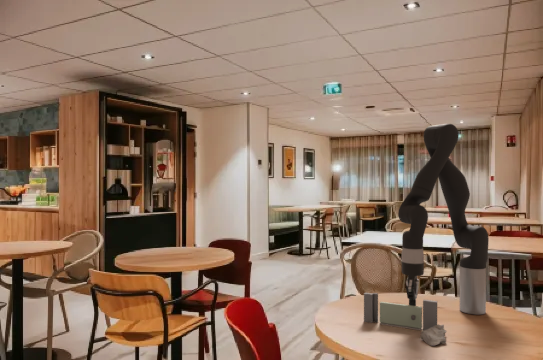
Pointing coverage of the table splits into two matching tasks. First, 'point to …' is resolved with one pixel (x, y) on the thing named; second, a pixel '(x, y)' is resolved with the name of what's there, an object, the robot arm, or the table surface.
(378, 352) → the table surface
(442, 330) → the stone
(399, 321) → the door
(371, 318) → the door frame
